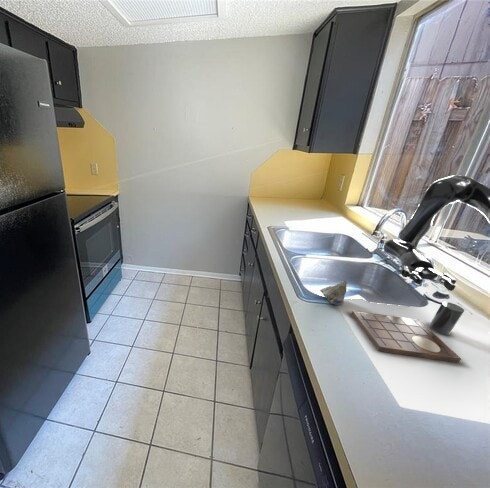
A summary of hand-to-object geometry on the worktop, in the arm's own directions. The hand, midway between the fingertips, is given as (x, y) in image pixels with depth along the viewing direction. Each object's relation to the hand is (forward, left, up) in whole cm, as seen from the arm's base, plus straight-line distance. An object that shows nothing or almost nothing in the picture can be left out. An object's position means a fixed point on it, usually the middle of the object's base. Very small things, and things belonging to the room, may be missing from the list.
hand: (435, 285), depth 87 cm
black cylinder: (+2, +11, -10) cm, 15 cm away
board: (+17, +17, -10) cm, 26 cm away
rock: (+31, +2, -10) cm, 33 cm away
